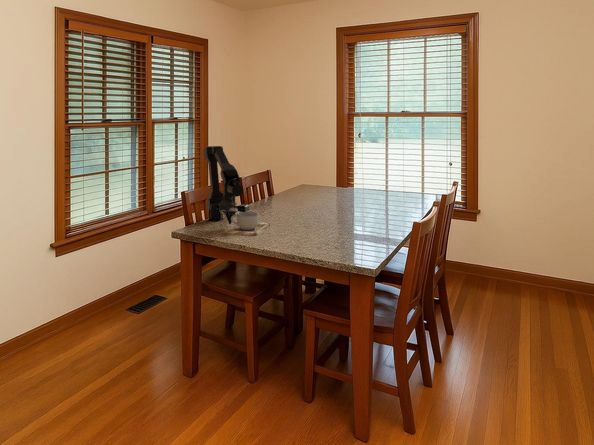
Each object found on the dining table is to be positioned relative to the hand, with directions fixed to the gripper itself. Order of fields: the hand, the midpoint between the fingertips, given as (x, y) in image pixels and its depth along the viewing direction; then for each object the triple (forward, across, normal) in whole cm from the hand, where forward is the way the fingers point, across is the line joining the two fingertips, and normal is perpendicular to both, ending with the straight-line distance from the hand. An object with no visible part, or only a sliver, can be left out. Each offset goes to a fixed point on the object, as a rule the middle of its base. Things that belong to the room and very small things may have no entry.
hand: (230, 223), depth 230 cm
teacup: (+2, +8, 0) cm, 8 cm away
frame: (+2, +9, 0) cm, 9 cm away
